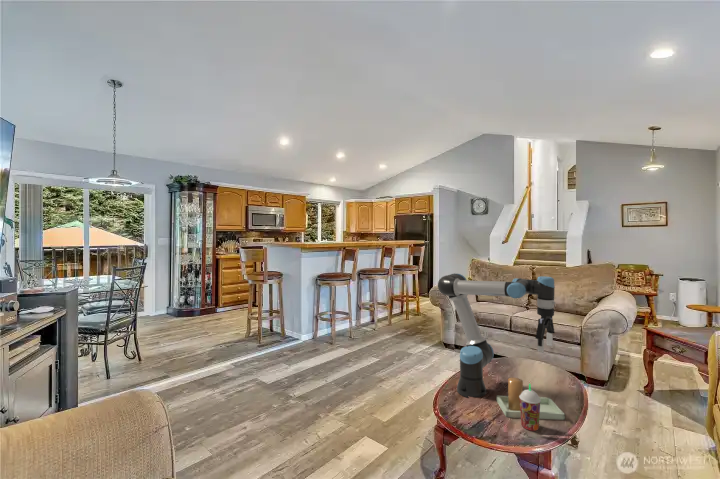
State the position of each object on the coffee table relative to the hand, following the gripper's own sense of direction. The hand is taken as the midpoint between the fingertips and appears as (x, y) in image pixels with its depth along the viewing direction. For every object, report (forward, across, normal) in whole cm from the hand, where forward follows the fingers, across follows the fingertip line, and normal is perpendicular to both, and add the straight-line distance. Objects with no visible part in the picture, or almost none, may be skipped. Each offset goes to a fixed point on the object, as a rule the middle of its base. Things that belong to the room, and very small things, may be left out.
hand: (545, 348), depth 171 cm
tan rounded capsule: (+26, -20, +7) cm, 33 cm away
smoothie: (+27, -31, -4) cm, 41 cm away
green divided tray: (+27, -16, +2) cm, 31 cm away
